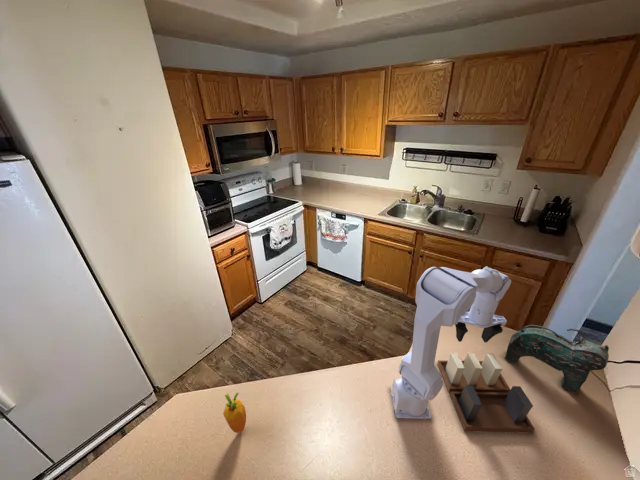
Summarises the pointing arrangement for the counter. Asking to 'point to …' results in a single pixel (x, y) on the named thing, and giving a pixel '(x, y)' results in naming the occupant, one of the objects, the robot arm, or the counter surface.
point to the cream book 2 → (471, 369)
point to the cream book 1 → (454, 368)
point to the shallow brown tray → (479, 386)
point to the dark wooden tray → (491, 415)
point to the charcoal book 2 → (517, 404)
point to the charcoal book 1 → (469, 403)
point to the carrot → (235, 414)
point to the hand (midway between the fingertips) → (471, 339)
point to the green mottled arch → (559, 353)
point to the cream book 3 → (490, 369)
